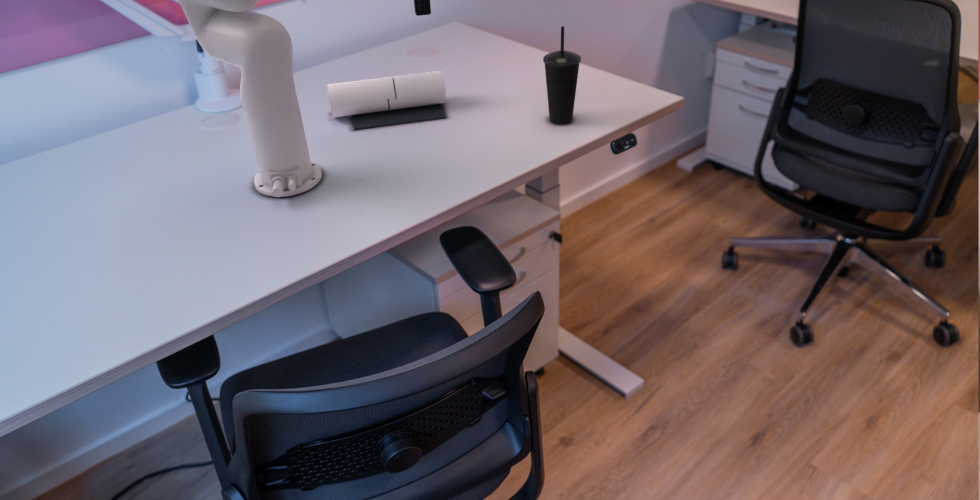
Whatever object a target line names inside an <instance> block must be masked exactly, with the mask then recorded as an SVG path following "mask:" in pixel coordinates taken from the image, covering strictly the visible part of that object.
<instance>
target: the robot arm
mask: <svg viewBox="0 0 980 500" xmlns="http://www.w3.org/2000/svg"><path fill="white" fill-rule="evenodd" d="M177 2H178V3H179V6H180V7H181V9H182V11H183V13H184V16H185V18H186V19H187V22H188V24H189V26H190V28H191V30H192V32H193V34H194V36H195V38H196V40H197V42H198V43H199V46H200V47H201V48H202V49H203V50H204V52H205V53H206V54H208V55H209V56H210V57H212V58H213V59H215V60H218V61H220V62H223V63H226V64H228V65H232V66H234V67H237V68H239V70H240V72H241V79H240V84H239V85H240V86H239V97H240V101H241V105H242V110H243V112H244V116H245V120H246V123H247V127H248V132H249V135H250V139H251V143H252V147H253V150H254V155H255V159H256V162H257V166H258V170H259V171H258V172H257V173H256V174H255V175H254V177H253V185H254V188H255V190H256V191H257V192H258V193H260V194H262V195H264V196H268V197H273V198H282V197H285V198H286V197H292V196H295V195H299V194H303V193H305V192H307V191H309V190H311V189H313V188H314V187H315V186H317V185H318V184H319V182H321V179H322V177H323V173H322V169H321V166H320V165H319V164H318V163H316V162H314V161H312V160H311V156H310V152H309V147H308V143H307V142H308V141H307V138H306V133H305V127H304V123H303V117H302V113H301V109H300V103H299V99H298V95H297V89H296V84H295V77H294V67H293V66H294V65H293V61H294V60H293V57H294V56H293V54H294V53H293V42H292V37H291V36H290V33H289V32H288V29H287V28H286V27H285V26H284V25H283V24H282V23H281V22H279V21H278V20H277V19H275V18H274V17H272V16H269V15H266V14H263V13H259V12H256V11H253V10H251V9H253V8H255V7H256V6H257V5H258V3H259V2H260V0H178V1H177ZM413 5H414V6H413V7H414V13H415V16H417V17H418V16H419V17H420V16H429V15H431V14H432V8H431V0H413Z"/></svg>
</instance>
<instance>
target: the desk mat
mask: <svg viewBox="0 0 980 500" xmlns="http://www.w3.org/2000/svg"><path fill="white" fill-rule="evenodd" d="M443 119H447V115H446V112H445V110H444V108H443V105H442V103H441V104H434V105H426V106H418V107H410V108H403V109H395V110H389V106H388V111H380V112H372V113H364V114H356V115H351V121H352V127H353V131H357V130H359V131H360V130H366V129H373V128H381V127H382V128H383V127H389V126H397V125H404V124H412V123H420V122H427V121H434V120H443Z"/></svg>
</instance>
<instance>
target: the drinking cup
mask: <svg viewBox="0 0 980 500" xmlns="http://www.w3.org/2000/svg"><path fill="white" fill-rule="evenodd" d="M581 61H582V57H581V55H580V54H579V53H576V52H572V51H570V50H565V26H564V25H563V26H560V49H559V50H554V51H552V52H549V53H546V54H545V55H543V58H542V62H543V63H544V73H545V83H546V93H547V105H548V106H547V107H548V119H549V121H550V123H552V124H555V125H559V126H560V125H561V126H562V125H568V124H570V123H571V122H573V117H574V111H575V101H576V94H577V86H578V78H579V69H580V63H581Z"/></svg>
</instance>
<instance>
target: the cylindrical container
mask: <svg viewBox="0 0 980 500" xmlns="http://www.w3.org/2000/svg"><path fill="white" fill-rule="evenodd" d="M326 90H327V96H328V103H329V108H330V113H331V117H332V119H333V118H342V117H348V116H352V115H356V114H364V113H372V112H380V111H388V106H389V110H395V109H403V108H410V107H418V106H426V105H434V104H441V105H442V104H446V102H447V92H446V91H447V90H446V84H445V78H444V74H443V71H442V70H441V69H440V70H432V71H425V72H415V73H409V74H401V75H393V76H384V77H377V78H367V79H359V80H352V81H344V82H343V81H342V82H335V83H327V84H326Z"/></svg>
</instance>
